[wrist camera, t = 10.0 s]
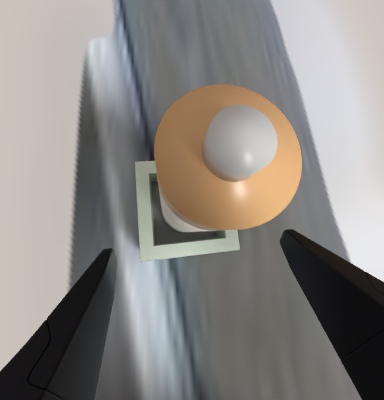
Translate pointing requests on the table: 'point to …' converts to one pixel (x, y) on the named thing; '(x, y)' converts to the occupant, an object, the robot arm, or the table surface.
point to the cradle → (164, 235)
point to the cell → (225, 160)
